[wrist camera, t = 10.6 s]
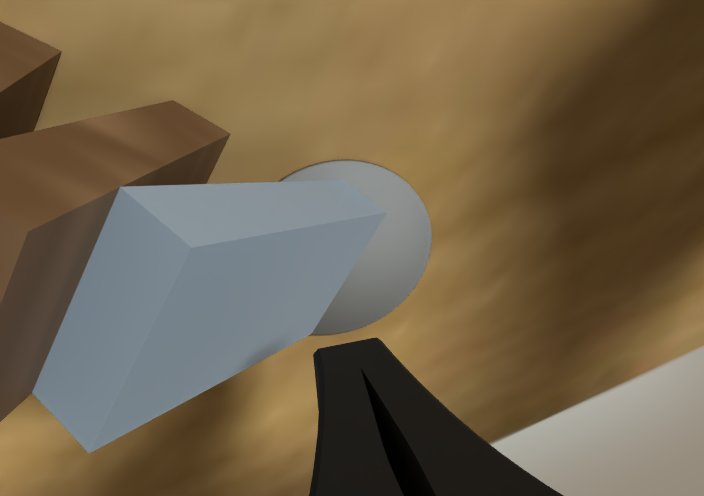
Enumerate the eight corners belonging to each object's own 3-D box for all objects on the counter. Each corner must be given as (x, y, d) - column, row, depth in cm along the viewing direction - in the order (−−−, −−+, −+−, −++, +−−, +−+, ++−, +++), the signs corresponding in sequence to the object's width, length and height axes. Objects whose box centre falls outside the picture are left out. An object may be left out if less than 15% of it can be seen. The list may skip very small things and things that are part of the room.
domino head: (387, 212, 16) (192, 248, 8) (311, 333, 17) (89, 453, 10) (342, 179, 16) (120, 186, 9) (272, 301, 17) (32, 392, 10)
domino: (230, 134, 14) (27, 231, 7) (162, 273, 16) (-67, 482, 8) (173, 100, 14) (-100, 160, 6) (109, 244, 15) (-174, 430, 8)
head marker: (465, 206, 18) (468, 209, 18) (367, 350, 20) (369, 354, 20) (295, 124, 15) (296, 126, 15) (202, 299, 17) (203, 303, 17)
